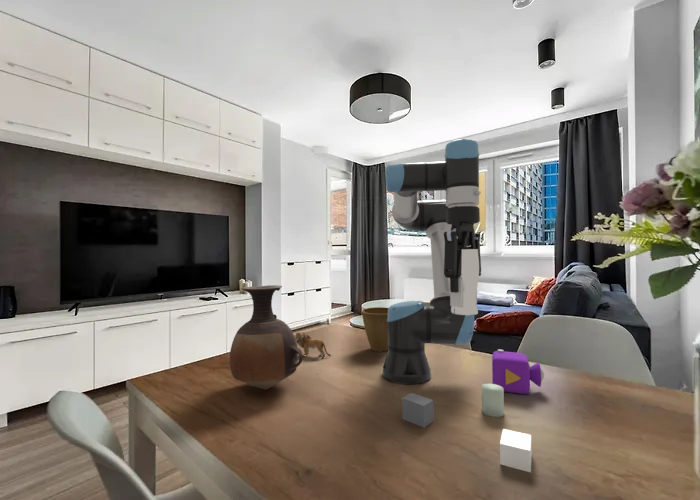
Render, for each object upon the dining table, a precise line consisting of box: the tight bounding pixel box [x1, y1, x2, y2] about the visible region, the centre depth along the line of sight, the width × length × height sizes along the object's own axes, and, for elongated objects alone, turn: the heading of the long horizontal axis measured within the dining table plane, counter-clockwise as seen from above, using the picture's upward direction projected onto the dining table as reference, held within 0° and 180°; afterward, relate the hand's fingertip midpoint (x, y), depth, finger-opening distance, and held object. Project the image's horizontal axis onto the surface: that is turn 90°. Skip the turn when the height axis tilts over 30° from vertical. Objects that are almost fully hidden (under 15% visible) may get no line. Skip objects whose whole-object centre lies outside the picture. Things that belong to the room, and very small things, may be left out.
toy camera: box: [491, 348, 545, 395], centre depth 98 cm, size 11×14×10 cm
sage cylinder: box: [480, 383, 505, 418], centre depth 83 cm, size 5×5×6 cm
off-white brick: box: [499, 428, 533, 473], centre depth 64 cm, size 6×5×4 cm
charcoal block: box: [401, 392, 435, 428], centre depth 80 cm, size 6×4×5 cm, turn 45°
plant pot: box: [361, 306, 389, 352], centre depth 139 cm, size 15×15×16 cm
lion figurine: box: [295, 331, 332, 359], centre depth 131 cm, size 15×5×9 cm, turn 74°
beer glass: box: [449, 249, 480, 316], centre depth 80 cm, size 7×7×15 cm
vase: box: [229, 284, 304, 391], centre depth 100 cm, size 23×19×30 cm
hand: (464, 304), depth 80 cm, fingers closed on beer glass, 6 cm apart
